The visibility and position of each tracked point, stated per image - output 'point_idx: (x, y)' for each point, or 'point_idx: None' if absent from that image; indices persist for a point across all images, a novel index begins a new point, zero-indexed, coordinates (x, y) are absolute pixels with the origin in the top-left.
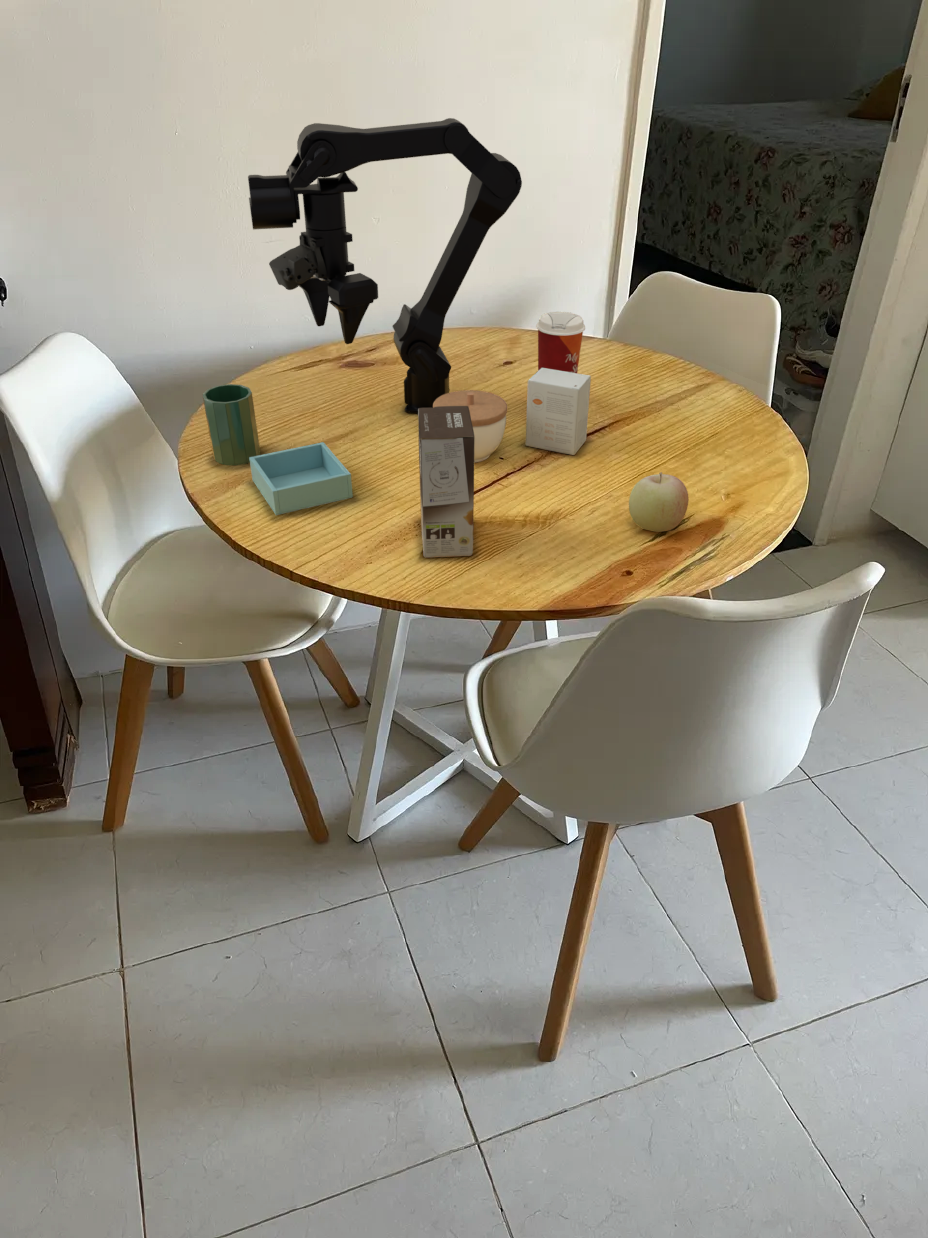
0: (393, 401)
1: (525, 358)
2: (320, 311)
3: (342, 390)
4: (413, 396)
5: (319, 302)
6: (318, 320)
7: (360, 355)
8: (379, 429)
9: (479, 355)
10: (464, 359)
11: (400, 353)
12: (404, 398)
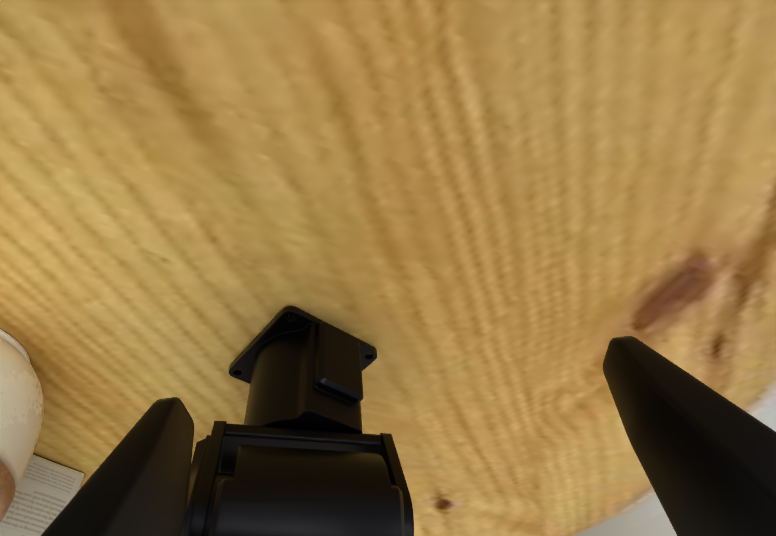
0: (381, 300)
1: (445, 523)
2: (665, 450)
3: (544, 205)
4: (290, 356)
5: (725, 527)
6: (632, 375)
7: (715, 318)
8: (191, 207)
9: (510, 483)
10: (511, 464)
11: (224, 483)
12: (323, 332)
